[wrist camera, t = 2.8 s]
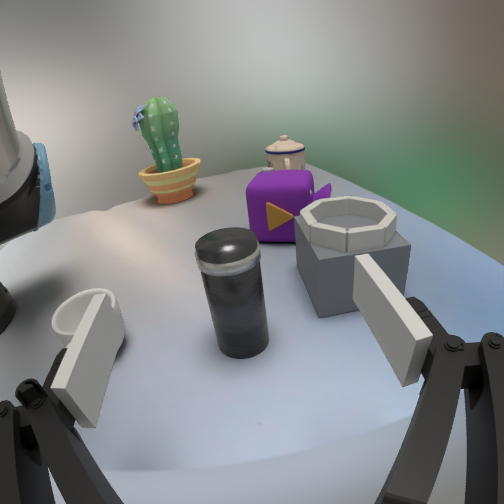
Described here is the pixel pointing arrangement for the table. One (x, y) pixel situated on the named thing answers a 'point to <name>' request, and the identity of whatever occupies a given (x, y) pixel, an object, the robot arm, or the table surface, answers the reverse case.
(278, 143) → the teacup with lid
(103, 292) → the teacup
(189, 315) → the table surface
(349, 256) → the camera body block
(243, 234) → the lens
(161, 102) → the potted cactus
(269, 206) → the toy camera
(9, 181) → the robot arm
